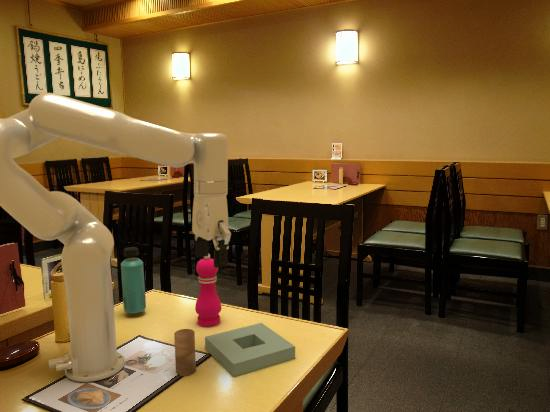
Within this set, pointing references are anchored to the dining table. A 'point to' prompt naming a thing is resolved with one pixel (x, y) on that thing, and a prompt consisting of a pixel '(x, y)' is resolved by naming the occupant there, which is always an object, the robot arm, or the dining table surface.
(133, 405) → the dining table surface
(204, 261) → the pepper mill
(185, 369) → the walnut peg
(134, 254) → the beverage bottle
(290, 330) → the dining table surface
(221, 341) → the socket board
